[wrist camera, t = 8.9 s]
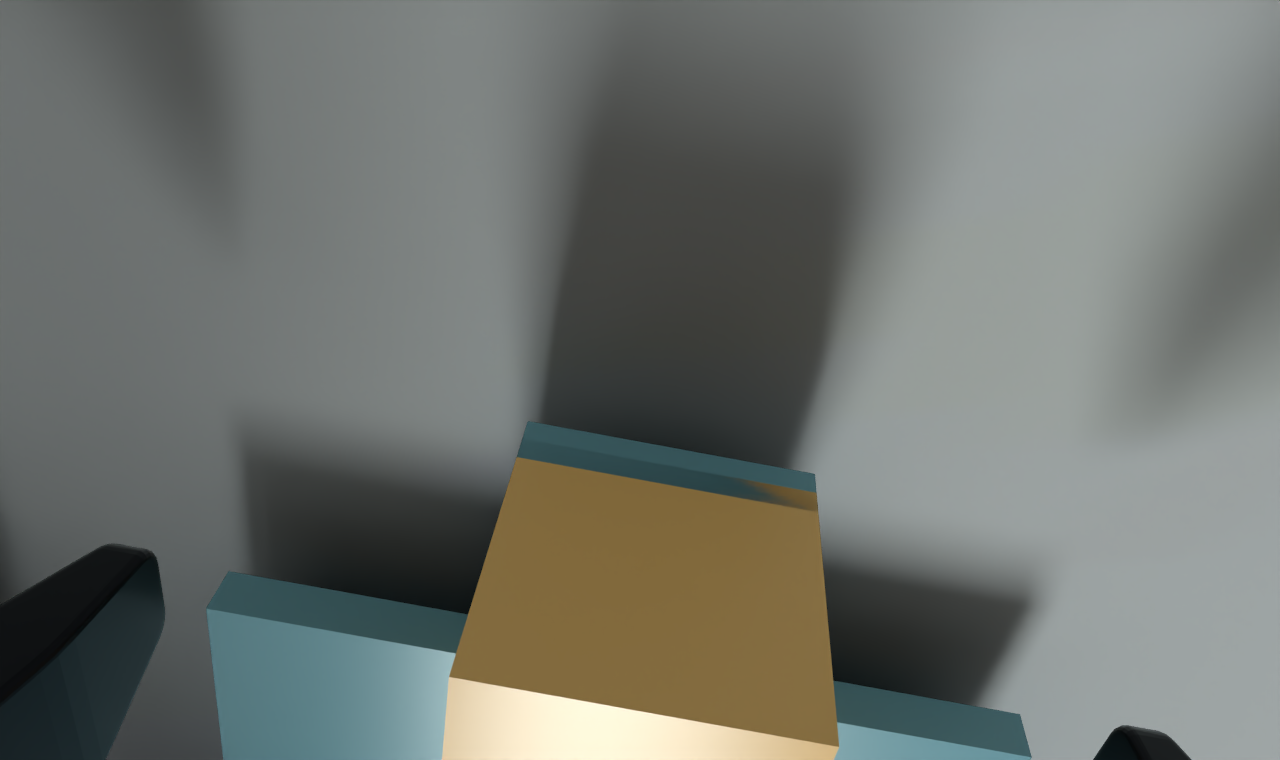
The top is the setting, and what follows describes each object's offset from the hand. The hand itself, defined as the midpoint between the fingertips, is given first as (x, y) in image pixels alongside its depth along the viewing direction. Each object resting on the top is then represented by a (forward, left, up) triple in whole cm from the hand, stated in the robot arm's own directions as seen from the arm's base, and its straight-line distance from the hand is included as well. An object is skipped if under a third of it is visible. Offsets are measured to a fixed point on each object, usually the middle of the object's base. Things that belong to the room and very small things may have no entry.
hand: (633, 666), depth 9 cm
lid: (-7, 0, -3) cm, 7 cm away
